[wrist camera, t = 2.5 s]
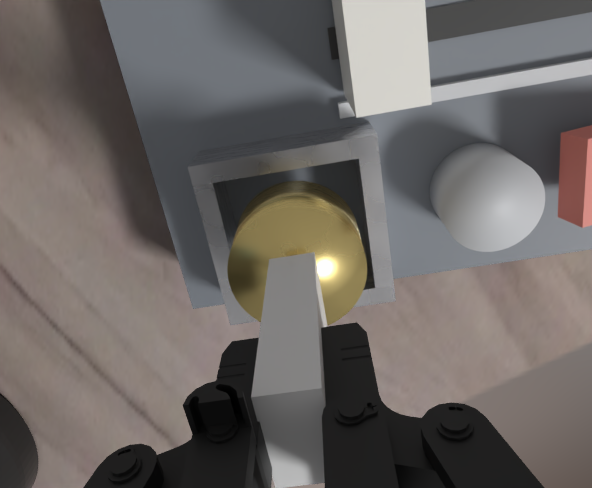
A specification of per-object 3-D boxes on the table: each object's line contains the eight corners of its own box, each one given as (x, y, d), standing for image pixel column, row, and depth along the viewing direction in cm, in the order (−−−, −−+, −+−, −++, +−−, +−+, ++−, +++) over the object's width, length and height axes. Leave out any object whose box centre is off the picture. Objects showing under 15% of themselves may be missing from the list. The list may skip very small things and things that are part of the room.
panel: (206, 271, 29) (182, 338, 23) (125, -20, 23) (64, -31, 17) (643, 203, 27) (739, 257, 21) (681, -134, 21) (830, -190, 15)
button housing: (236, 296, 25) (230, 325, 23) (199, 151, 22) (187, 166, 20) (386, 274, 25) (395, 301, 22) (369, 121, 22) (377, 134, 19)
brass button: (250, 299, 22) (243, 340, 19) (224, 191, 20) (212, 219, 17) (365, 282, 22) (374, 321, 19) (349, 170, 20) (358, 196, 17)
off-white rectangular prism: (344, 94, 21) (356, 117, 16) (329, -14, 19) (338, -21, 15) (402, 84, 21) (431, 104, 16) (393, -26, 19) (422, -37, 15)
